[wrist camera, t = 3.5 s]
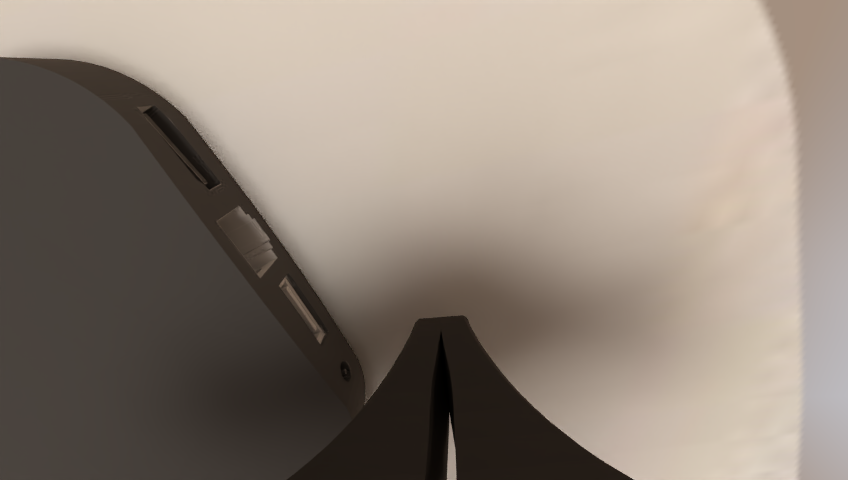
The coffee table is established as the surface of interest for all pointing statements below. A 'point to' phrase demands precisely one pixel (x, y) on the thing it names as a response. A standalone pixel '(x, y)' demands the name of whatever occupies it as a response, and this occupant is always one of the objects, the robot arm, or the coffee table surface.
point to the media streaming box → (147, 298)
